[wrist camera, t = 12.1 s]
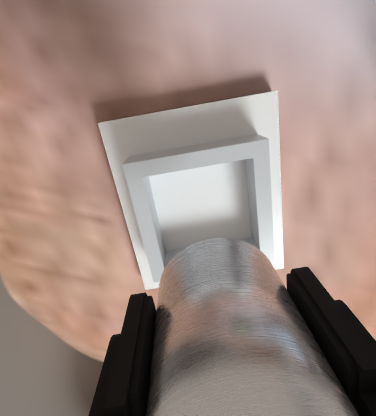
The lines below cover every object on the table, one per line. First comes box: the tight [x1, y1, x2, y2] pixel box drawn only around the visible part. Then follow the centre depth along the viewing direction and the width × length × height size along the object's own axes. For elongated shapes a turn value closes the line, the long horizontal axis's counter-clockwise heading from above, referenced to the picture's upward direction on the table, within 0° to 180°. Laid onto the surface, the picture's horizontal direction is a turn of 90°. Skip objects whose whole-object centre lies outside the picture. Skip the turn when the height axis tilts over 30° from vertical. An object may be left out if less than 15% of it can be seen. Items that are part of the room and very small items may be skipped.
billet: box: [146, 238, 359, 416], centre depth 8 cm, size 5×5×8 cm
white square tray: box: [98, 91, 284, 290], centre depth 19 cm, size 12×14×4 cm
